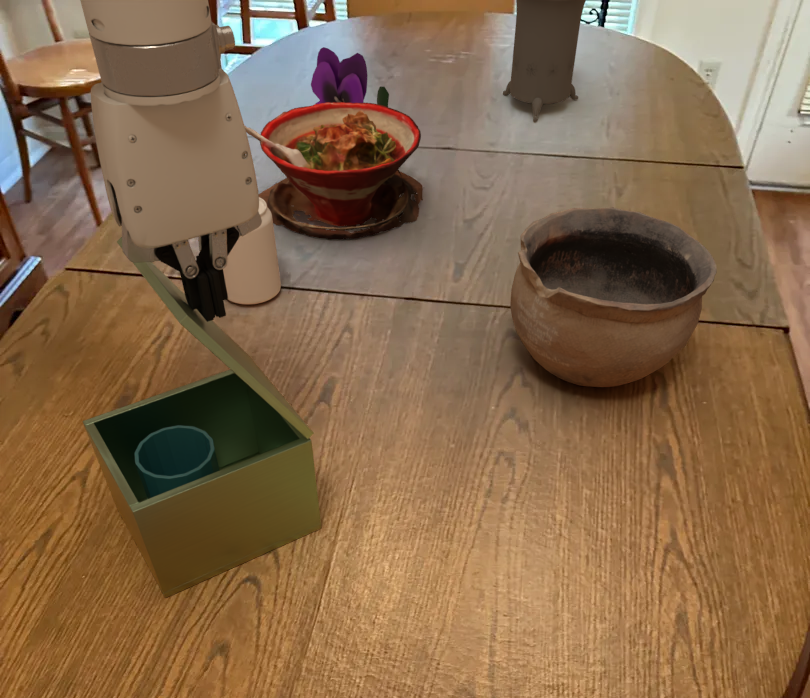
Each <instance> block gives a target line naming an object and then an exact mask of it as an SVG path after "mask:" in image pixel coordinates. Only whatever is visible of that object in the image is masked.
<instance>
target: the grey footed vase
mask: <svg viewBox="0 0 810 698" xmlns="http://www.w3.org/2000/svg"><path fill="white" fill-rule="evenodd" d="M586 1H587V0H515V3H516V6H515V7H516V11H515V12H516V17H515V28H514V39H513V40H514V41H513V49H512V51H513V52H512V63H511V71H510V81H509V82H508V83H507V85H506V88H505V90H503V91H502V95H503V96H509V95H511V97H512V98H514V99H516V100H517V101H520V102H523V103H528V104H531V107H532V109H531V110H532V121H533V122H534V123H536V122H538V119H539V115H540V113H541V110H542V108H543V105H553V104H559V103H562V102H565V100H567V99H569V97H570V99H571V100H572V101H577V100H578V99H579V96H578V94H576V88H575V86H574V84H573V83H572V82H573V77H574V69H575V62H576V55H577V50H578V49H577V48H578V42H579V41H578V40H579V35H580V26H581V20H582V15H583V11H584V7H585V5H586Z"/></svg>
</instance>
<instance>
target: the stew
mask: <svg viewBox="0 0 810 698" xmlns="http://www.w3.org/2000/svg"><path fill="white" fill-rule="evenodd" d="M244 126H245V130H246V133H247V135H249V136H251V137H253V138H254V139H256V140H257V141H259V143H260V144H259V145H260V148H261V151H262V152H263V153H264V154H265V156H266V157H267V158H268V159H269V160H271V161H272V162H273V164H274V165H275V166H276V167H277V168H278V169H279V171H280V172H281V173H282V174H283V175H284V176H285V178H283V179H282V180H280V181H278V182H275V184H273V185H270V187H268V188H266V189H265V190H263V191H261V192H259V193H258V194H259V197H260V198H262V199H263V200H264V201H265V202H266V204H267V207H268V208H269V210H270V211H271V214H272V219H273V225H275V226H283V227H284V228H286V229H287V230H289V231H291V232H294V233H297V234H300V235H305V236H307V237H310V238H316V239H320V240H321V239H322V240H328V241H333V240H337V241H338V240H339V241H341V240H343V241H344V240H358V239H362V238H365V237H372V236H375V235H378V234H380V233H385V232H388V231H391V230H393V229H397V228H400V227H402V226H403V225H404V224H410V222H411V223H415V222H416V221H417V220H418V218H419V215H420V205H419V204H420V203H421V201H423V200H424V199H423V192H424V191H423V190H424V187H423V186H424V185H423V184H422V183H421V182H419V180H417V179H416V178H414V177H413V176H411V175H410V174H407V173H405V172H403V171H400V170H399V169H400V168H401V167H402V166H403V165H404V164H405V162H406V161H408V159H409V158H410V157H411V156H412V155H413V154H414V153H415V152H416V150H418V148H419V147H420V143H421V138H422V133H421V129H420V128H419V126H418V125H417V123H416V121H414V119H413V118H412V117H411V116H410V115H408V114H406V113H404V112H403V111H400V110H398V109H395V108H392V107H389V106H388V107H386V106H383V105H378V104H377V103H373V102H364V103H345V102H337V103H334V102H333V103H331V102H326V103H320V104H315V103H314V104H312V105H306V106H298V107H293V108H291V109H289V110H288V111H283V112H282V113H280V114H278V115H277V116H276V117H274V118H272V119H271V120H269V121H268V122H267V123H266V124H265V125H264V126H263V128H262V130H261V132H260V133H258V131H257V130H254V129H253V128H251V127H247V126H246V125H245V124H244ZM412 196H413V198H414V199H412ZM299 211H300V212H304V215H307V216H309V217H307V218H306V219H307V220H308V221H310V222H313V221H319V222H320V223H324V224H325V225H326V224H327V225H330V226H324V225H318V224H310V223H309V222H301V221H300V220H297V219H296V217H294V215H296V216H300V214H298V213H297V214H296V213H295V212H299ZM371 219H372V220H375V222H374V223H369V224H366V223H367V222H368V221H370V220H371ZM353 230H354V231H353ZM351 231H352V232H351Z"/></svg>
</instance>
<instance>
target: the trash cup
mask: <svg viewBox="0 0 810 698" xmlns="http://www.w3.org/2000/svg"><path fill="white" fill-rule="evenodd" d="M134 454H135V464H136V467H137V470H138V473H139V476H140V478H141V481H142V484H143V487H144V490H145V493H146V496H147V498H148V499H149V498H152V497H154V496H157V495H159V494H162V493H165V492H167V491H170V490H172V489H175V488H177V487H180V486H182V485H185V484H187V483H190V482H192V481H195V480H197V479H200V478H202V477H205V476H207V475H210V474H212V473H215V472H217V471H220V467H219V463H218V459H217V454H216V450H215V446H214V442H213V439H212V438H211V437H210V436H209V435H208V434H207V433H206V431H203V430H201V429H199V428H196V427H193V426H182V425H177V426H172V427H166V428H162V429H160V430H158V431H156V432H153V433H151V434H149V435H148V436H147V437H146V438H145V439H144V440H142V441H141V442H140V443H139V445H138V447H137V449H136V451H135V453H134Z"/></svg>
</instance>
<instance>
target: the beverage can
mask: <svg viewBox="0 0 810 698" xmlns="http://www.w3.org/2000/svg"><path fill="white" fill-rule="evenodd" d="M258 212H259V214H260V217H261V220H262V223H261V225H260V226H259V227H258V228H257V229H255V230H253V231H251V232H249V233H248V234H246V235H244V236H240V237H239V239H238V240H237V242H236V244H235V245H234V247H233V248H232V250H231V252H230V253H229V255H228V256H227V261H228V262H227V265H226V267H225V268H224V269H223V272H224V278H225V283H226V289H227V294H228V299H227V300H228V301H229V302H231V303H235V304H239V305H257V304H262V303H265V302H267V301H270V300H272V299H273V298H275V297H277V295H278V294H279V292H280V291H281V288H282V283H281V275H280V268H279V259H278V251H277V243H276V236H275V235H276V234H275V227H274V223H273V219H272V214H271V211H270V210H269V208H268V207H267V204H266V202H265V201H264V200H263V199H262V198H260V197H259V209H258Z"/></svg>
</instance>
